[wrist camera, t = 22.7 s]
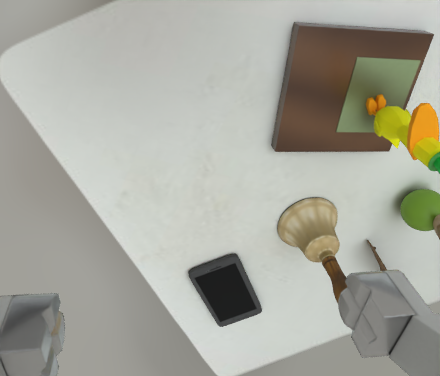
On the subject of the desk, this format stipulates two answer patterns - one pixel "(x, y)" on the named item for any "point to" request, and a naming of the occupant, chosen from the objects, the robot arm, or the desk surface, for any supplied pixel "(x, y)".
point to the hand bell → (314, 235)
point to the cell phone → (226, 290)
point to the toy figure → (409, 129)
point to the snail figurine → (422, 210)
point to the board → (344, 85)
